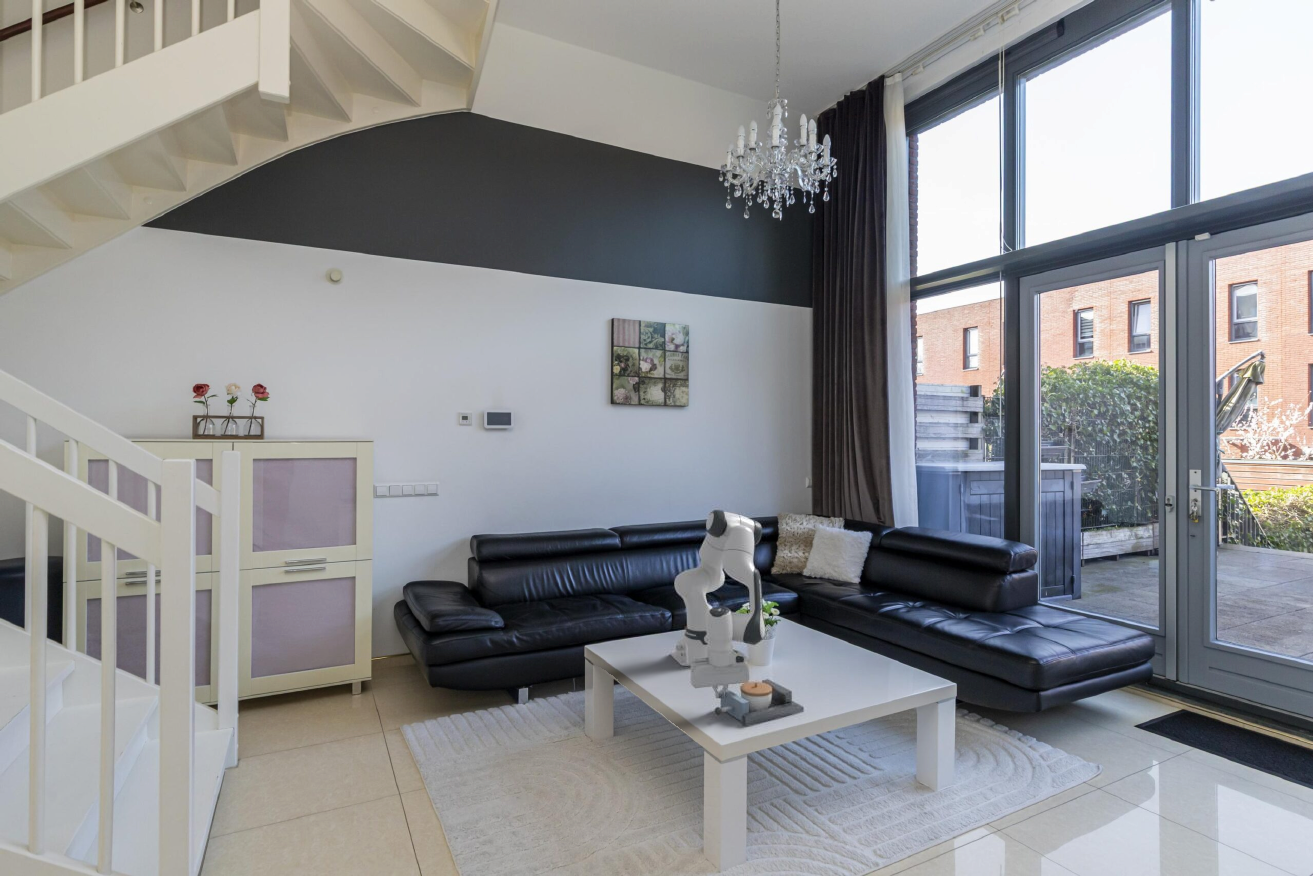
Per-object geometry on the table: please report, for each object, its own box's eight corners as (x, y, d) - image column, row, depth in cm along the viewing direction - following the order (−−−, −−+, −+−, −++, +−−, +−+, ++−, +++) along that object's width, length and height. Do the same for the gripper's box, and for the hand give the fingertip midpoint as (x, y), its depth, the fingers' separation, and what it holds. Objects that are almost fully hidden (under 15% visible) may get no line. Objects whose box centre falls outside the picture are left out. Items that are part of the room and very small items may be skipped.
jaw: (703, 712, 221) (702, 694, 221) (727, 706, 226) (726, 688, 226) (724, 727, 210) (724, 707, 210) (749, 720, 214) (749, 701, 214)
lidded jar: (733, 710, 224) (733, 682, 224) (753, 701, 231) (753, 674, 231) (759, 719, 216) (758, 691, 216) (778, 710, 223) (778, 682, 223)
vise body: (718, 709, 224) (718, 690, 224) (774, 695, 236) (774, 677, 236) (745, 726, 211) (745, 706, 211) (803, 711, 222) (803, 692, 222)
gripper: (693, 662, 216) (693, 704, 216) (751, 656, 221) (751, 697, 221) (687, 656, 222) (688, 697, 222) (744, 651, 227) (744, 690, 227)
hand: (720, 697), depth 222 cm, fingers closed
